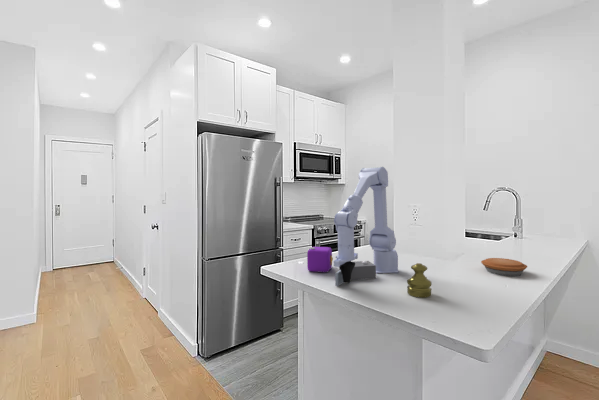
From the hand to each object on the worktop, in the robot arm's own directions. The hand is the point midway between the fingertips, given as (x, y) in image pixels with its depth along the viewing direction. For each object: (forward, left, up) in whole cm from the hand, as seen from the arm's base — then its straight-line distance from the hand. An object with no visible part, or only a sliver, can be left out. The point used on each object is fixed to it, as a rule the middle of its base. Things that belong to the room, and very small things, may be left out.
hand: (346, 282), depth 107 cm
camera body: (-8, -10, -1) cm, 13 cm away
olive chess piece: (-21, +13, -1) cm, 24 cm away
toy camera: (+4, -24, -2) cm, 25 cm away
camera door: (+1, -3, -1) cm, 3 cm away
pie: (-68, -5, -2) cm, 68 cm away
